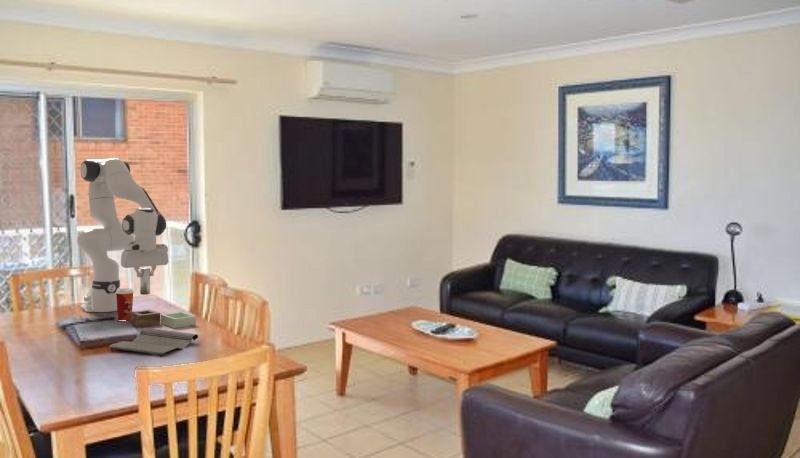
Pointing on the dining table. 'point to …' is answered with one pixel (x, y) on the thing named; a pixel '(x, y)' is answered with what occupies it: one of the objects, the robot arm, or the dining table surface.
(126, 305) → the paper cup
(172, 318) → the tray
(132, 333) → the dining table surface
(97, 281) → the robot arm
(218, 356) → the dining table surface
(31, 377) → the dining table surface
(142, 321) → the socket block
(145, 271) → the steel pin
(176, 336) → the mat
